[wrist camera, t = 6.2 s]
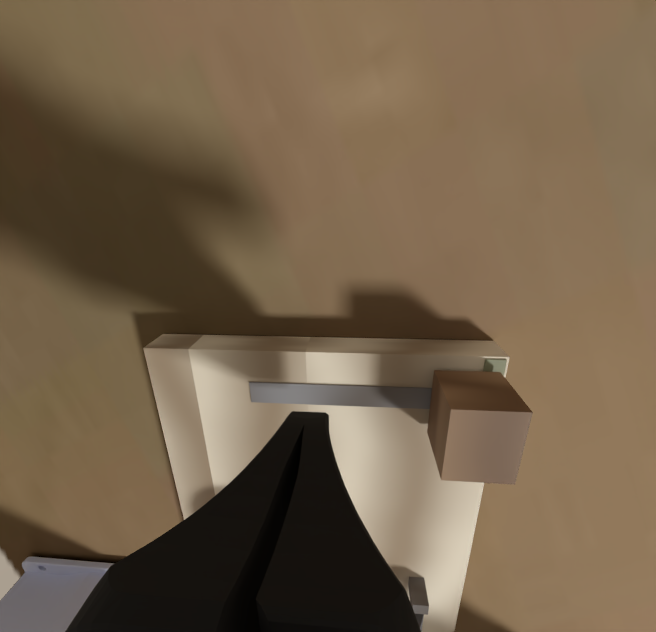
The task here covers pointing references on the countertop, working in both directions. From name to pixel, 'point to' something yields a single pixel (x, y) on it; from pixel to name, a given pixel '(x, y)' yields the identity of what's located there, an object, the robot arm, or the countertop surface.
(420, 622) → the grey rectangular block
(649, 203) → the countertop surface
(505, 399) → the walnut slider
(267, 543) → the robot arm
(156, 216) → the countertop surface
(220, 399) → the control panel
